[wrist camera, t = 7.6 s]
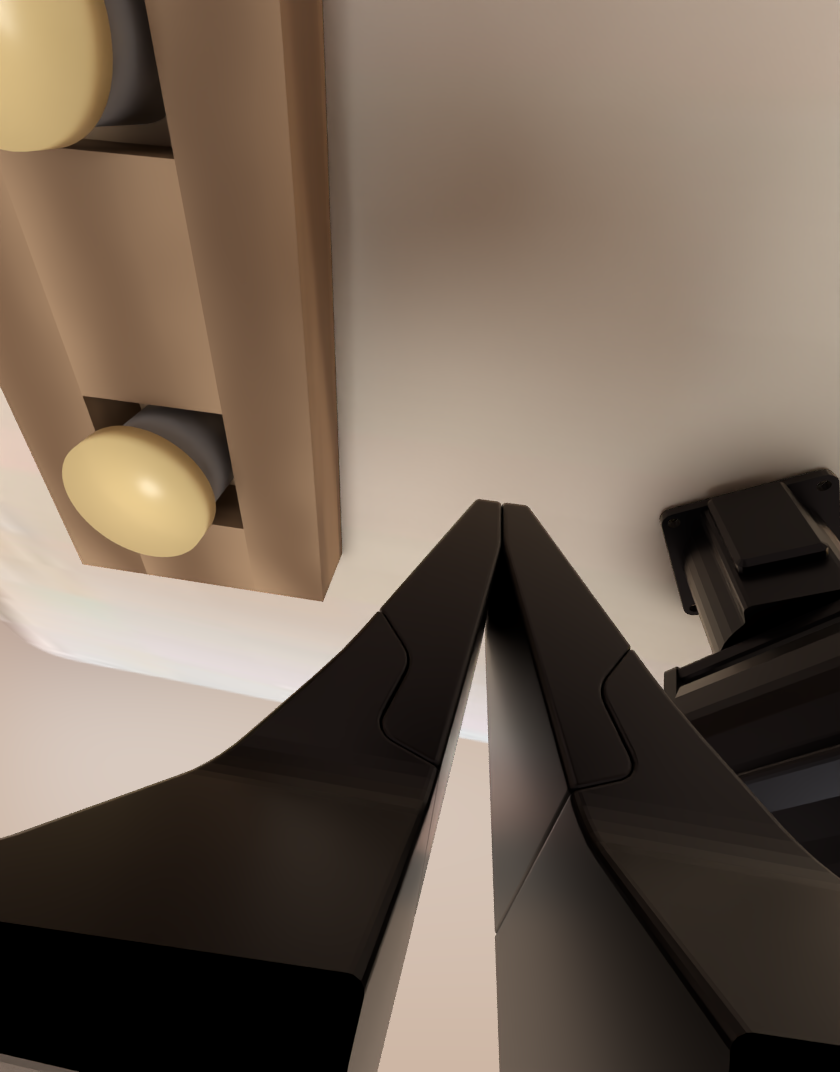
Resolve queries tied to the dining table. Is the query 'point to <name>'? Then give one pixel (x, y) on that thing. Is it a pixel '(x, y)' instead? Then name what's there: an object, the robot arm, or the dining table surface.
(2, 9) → the outer button
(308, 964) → the robot arm
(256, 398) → the socket block
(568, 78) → the dining table surface
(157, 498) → the inner button
